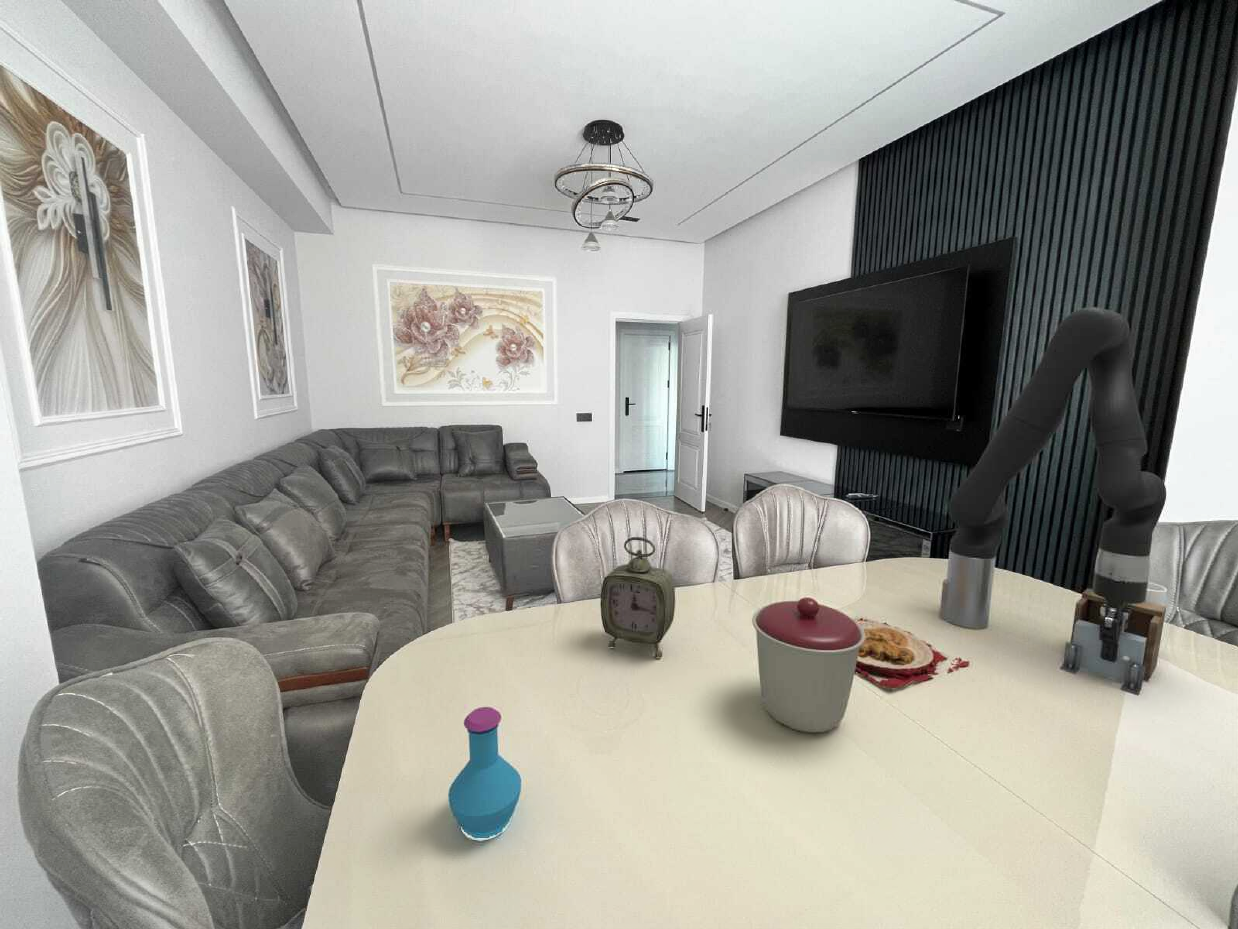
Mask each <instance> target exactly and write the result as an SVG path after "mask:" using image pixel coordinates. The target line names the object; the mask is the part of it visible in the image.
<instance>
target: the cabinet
mask: <svg viewBox="0 0 1238 929" xmlns="http://www.w3.org/2000/svg"><path fill="white" fill-rule="evenodd" d="M1092 589H1093V588H1086V589H1085V590H1084V591H1083V592H1082V593H1081V597H1080V599H1078V601H1076V603H1075V610H1074V616H1073V623H1072V629H1071V637H1070V643H1072V641H1073V634H1074V627H1075V623H1076V622H1077V621H1078V620H1082V621H1086V622H1090V623H1093V624H1097V625H1100V619H1099V617H1101V613H1100V610H1101V606H1102V605H1104V602H1107V600H1106V599H1105V598H1103V597H1100V596H1098V595H1096V594H1095V593H1094V592H1093V590H1092ZM1131 606H1132V614H1131V616H1130V618H1129V626H1128V628H1127V631H1126V633H1130V634H1134V635H1137V636H1141V637H1145V638H1147V640H1146V646H1145V652H1144V658H1143V664H1142V665H1145V671H1144V677H1143V682H1147V681H1148V682H1150V680H1149V679H1151V677H1152V675H1153V674H1154V672H1155V670H1156V667H1157V665H1158V658H1159V652H1160V647H1161V646H1160V645H1161V641H1162V635H1163V628H1164V622H1165V617H1166V610H1167V606H1166V605H1165V606H1161V605H1157V604H1152V603H1148V602H1143V603H1139V604H1131Z"/></svg>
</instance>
